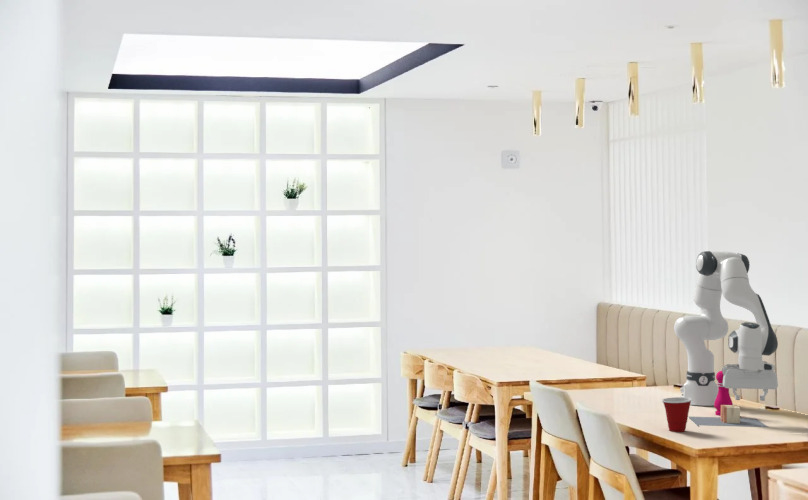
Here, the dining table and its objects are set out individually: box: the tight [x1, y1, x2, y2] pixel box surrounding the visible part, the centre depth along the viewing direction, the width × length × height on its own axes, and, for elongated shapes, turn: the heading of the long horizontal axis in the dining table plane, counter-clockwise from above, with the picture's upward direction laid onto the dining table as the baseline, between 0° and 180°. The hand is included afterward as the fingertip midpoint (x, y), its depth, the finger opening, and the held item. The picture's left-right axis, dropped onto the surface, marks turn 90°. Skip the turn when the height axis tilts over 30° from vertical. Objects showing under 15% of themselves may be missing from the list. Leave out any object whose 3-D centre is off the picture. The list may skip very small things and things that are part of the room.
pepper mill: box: [713, 366, 734, 417], centre depth 391 cm, size 7×7×20 cm
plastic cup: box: [661, 396, 692, 433], centre depth 356 cm, size 11×11×12 cm
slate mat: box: [688, 416, 769, 428], centre depth 375 cm, size 20×26×1 cm
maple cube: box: [720, 404, 741, 423], centre depth 375 cm, size 6×6×6 cm
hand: (749, 400), depth 374 cm, fingers open, 8 cm apart
